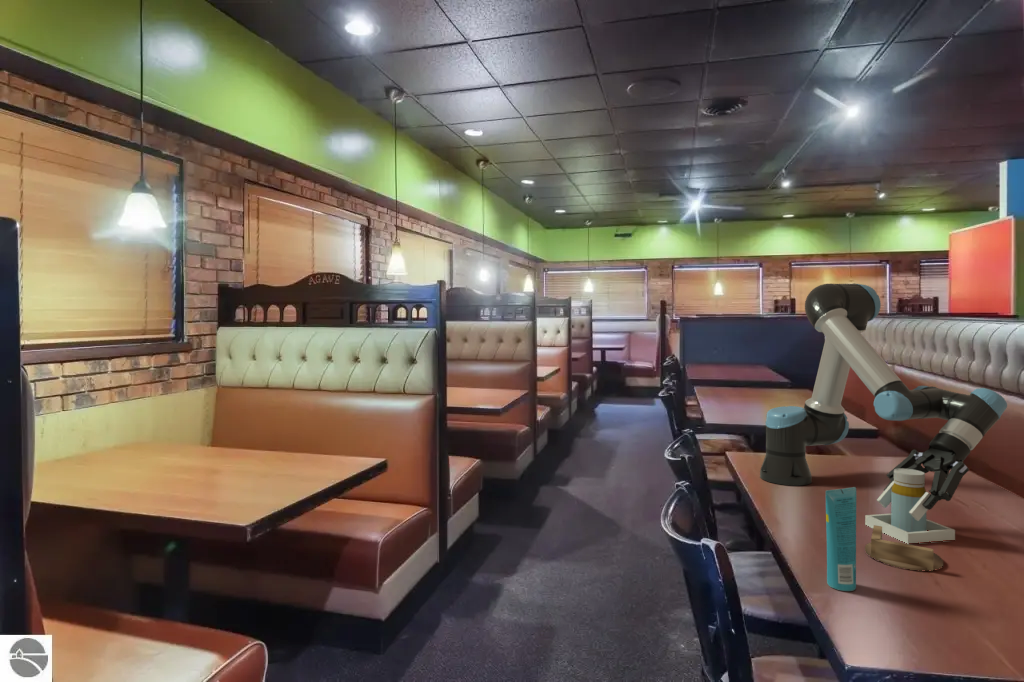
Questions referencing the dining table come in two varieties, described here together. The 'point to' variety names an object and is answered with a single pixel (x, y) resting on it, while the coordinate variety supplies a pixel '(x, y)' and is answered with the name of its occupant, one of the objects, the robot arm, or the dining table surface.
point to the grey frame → (934, 533)
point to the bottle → (907, 499)
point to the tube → (841, 538)
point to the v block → (902, 553)
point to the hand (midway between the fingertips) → (896, 510)
